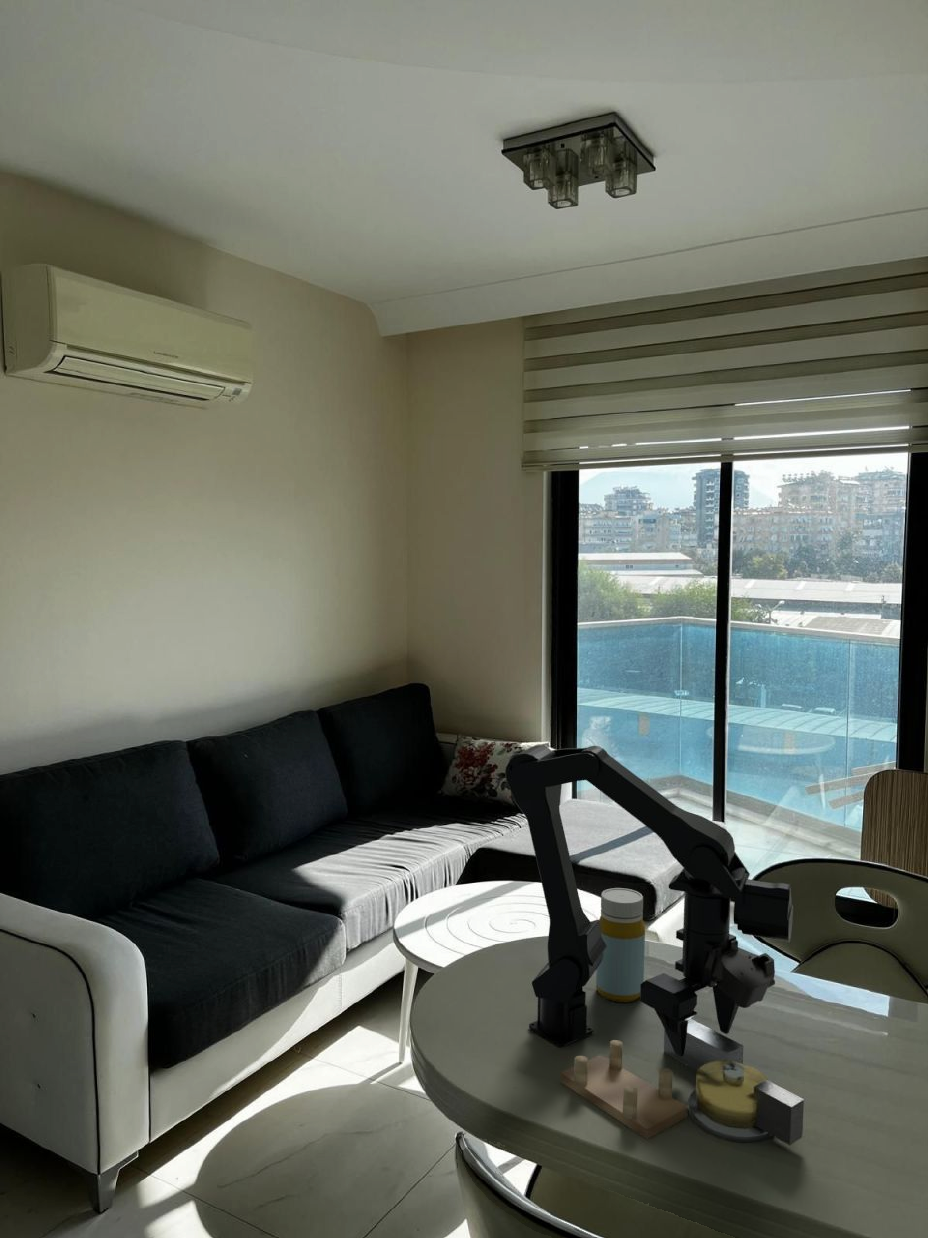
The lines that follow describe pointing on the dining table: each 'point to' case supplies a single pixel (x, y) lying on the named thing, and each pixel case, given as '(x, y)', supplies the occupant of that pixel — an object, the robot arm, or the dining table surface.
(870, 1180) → the dining table surface
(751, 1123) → the brass disc with block
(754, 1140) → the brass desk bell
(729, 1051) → the long grey slab
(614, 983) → the bottle
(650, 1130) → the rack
